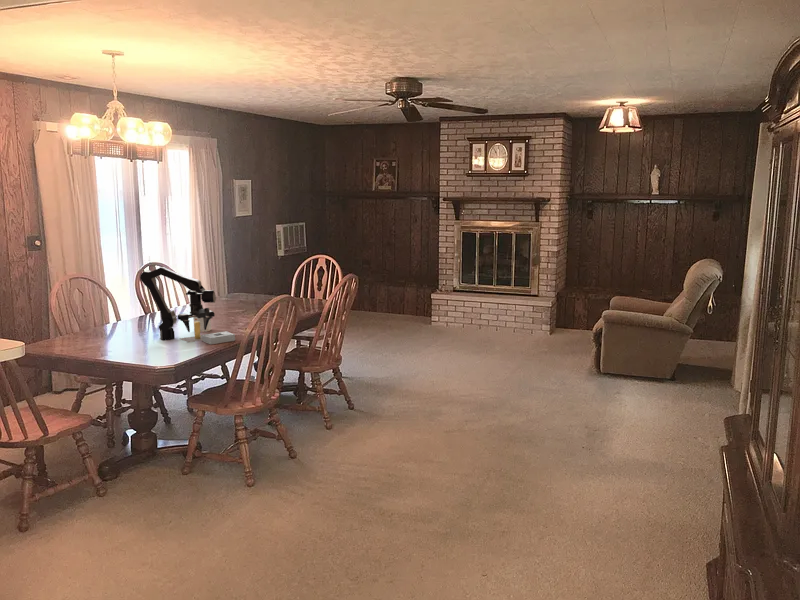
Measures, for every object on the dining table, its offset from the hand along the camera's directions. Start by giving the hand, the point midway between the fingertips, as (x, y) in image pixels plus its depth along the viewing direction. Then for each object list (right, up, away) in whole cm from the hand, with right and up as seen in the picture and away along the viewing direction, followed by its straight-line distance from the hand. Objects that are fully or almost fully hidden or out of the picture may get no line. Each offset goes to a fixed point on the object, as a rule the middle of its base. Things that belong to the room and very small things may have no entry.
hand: (197, 330), depth 360 cm
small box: (-3, -1, +21) cm, 22 cm away
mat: (-1, -5, 0) cm, 5 cm away
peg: (0, -4, +1) cm, 4 cm away
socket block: (+13, -6, -5) cm, 15 cm away
